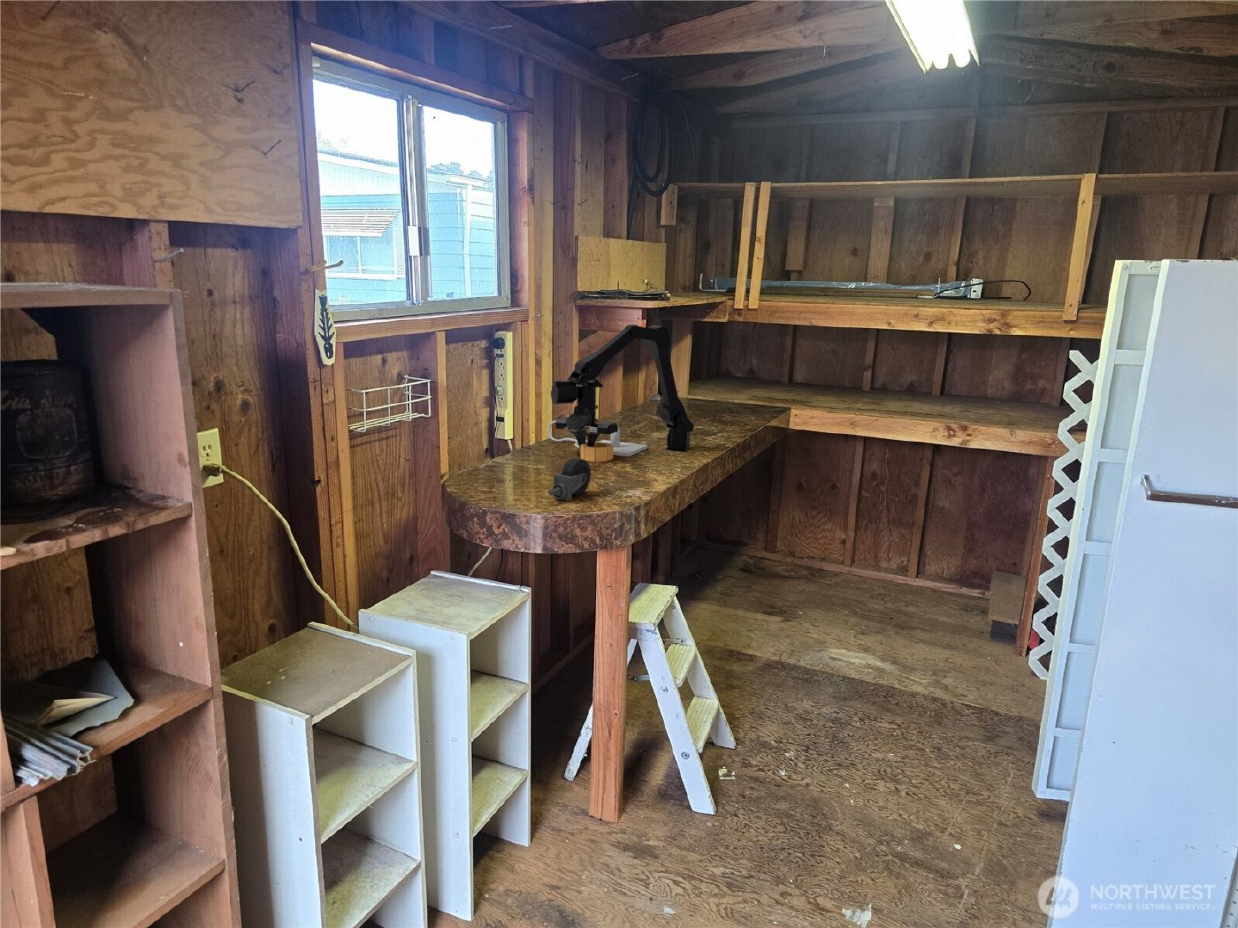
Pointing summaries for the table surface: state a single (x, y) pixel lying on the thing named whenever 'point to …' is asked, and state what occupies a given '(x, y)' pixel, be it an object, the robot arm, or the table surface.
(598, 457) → the wooden bowl
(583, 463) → the caster wheel
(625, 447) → the post board
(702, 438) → the table surface
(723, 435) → the table surface
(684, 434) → the robot arm
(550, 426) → the hook
